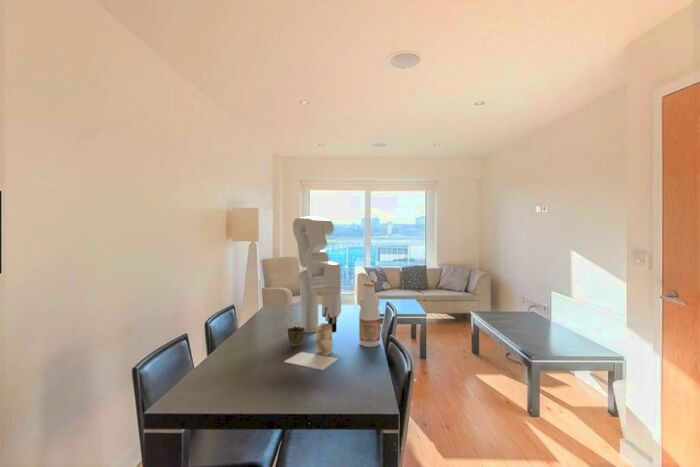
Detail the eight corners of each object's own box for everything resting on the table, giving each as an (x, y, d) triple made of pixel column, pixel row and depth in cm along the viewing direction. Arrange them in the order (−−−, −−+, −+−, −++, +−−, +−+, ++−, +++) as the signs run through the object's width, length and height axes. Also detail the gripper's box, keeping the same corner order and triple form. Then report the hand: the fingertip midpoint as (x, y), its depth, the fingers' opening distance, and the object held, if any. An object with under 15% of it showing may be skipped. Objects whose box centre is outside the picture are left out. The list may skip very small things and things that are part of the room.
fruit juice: (355, 343, 158) (355, 282, 158) (371, 339, 163) (371, 281, 163) (367, 349, 150) (367, 285, 150) (384, 345, 155) (383, 283, 155)
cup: (284, 347, 153) (284, 329, 153) (294, 342, 159) (294, 325, 159) (297, 350, 149) (297, 331, 149) (307, 345, 156) (307, 327, 156)
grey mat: (283, 362, 135) (283, 361, 135) (301, 352, 146) (301, 351, 146) (322, 370, 127) (322, 369, 127) (338, 359, 138) (338, 358, 138)
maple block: (315, 354, 144) (315, 325, 144) (322, 350, 149) (322, 322, 149) (326, 355, 142) (326, 327, 142) (332, 352, 147) (331, 324, 147)
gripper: (332, 287, 160) (333, 326, 160) (316, 292, 147) (316, 335, 147) (347, 288, 157) (347, 328, 157) (331, 293, 144) (331, 337, 144)
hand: (332, 331), depth 152 cm, fingers closed
